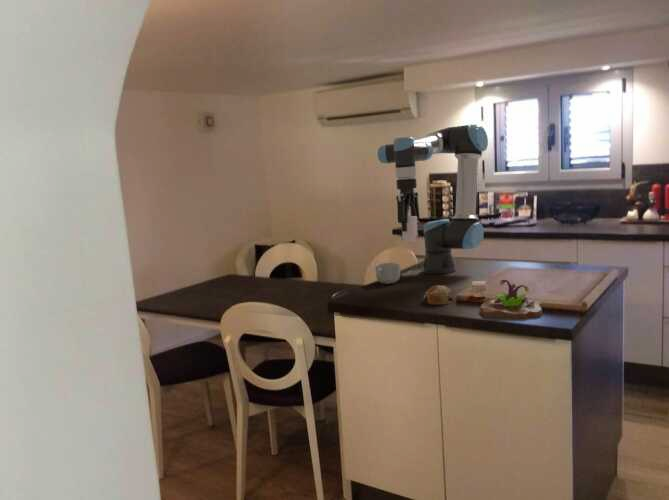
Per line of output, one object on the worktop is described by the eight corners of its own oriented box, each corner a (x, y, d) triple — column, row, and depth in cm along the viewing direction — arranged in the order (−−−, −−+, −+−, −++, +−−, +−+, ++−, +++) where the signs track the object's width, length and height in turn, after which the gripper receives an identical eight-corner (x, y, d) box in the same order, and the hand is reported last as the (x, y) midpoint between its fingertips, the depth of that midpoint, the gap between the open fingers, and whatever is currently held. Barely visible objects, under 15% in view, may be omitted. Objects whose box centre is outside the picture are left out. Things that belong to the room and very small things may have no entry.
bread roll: (442, 315, 214) (450, 296, 211) (417, 302, 219) (425, 283, 216) (452, 308, 223) (460, 290, 220) (428, 295, 227) (435, 277, 224)
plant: (482, 304, 212) (481, 273, 210) (541, 304, 206) (540, 272, 204) (478, 320, 193) (476, 286, 191) (542, 321, 187) (541, 285, 185)
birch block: (473, 294, 226) (472, 281, 226) (487, 294, 225) (486, 281, 224) (472, 297, 222) (471, 284, 221) (486, 297, 220) (485, 284, 219)
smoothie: (418, 242, 229) (415, 206, 227) (401, 243, 231) (398, 207, 228) (419, 240, 235) (417, 204, 233) (403, 241, 237) (400, 205, 235)
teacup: (387, 278, 267) (386, 261, 266) (406, 281, 260) (405, 262, 258) (366, 285, 258) (364, 267, 257) (385, 287, 250) (384, 268, 249)
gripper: (408, 176, 239) (412, 234, 243) (385, 180, 224) (389, 242, 227) (426, 175, 235) (429, 234, 239) (403, 179, 219) (407, 242, 223)
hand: (410, 238), depth 233 cm, fingers closed on smoothie, 6 cm apart
